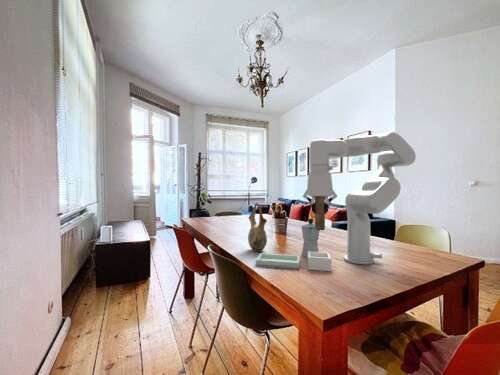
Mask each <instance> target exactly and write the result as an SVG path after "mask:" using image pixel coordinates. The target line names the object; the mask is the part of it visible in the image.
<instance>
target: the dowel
mask: <svg viewBox="0 0 500 375" xmlns="http://www.w3.org/2000/svg"><path fill="white" fill-rule="evenodd" d="M314 203H315V214H314V224H315V230H320V231H325V229H326V222H325V221H326V217H325V216H326V214H325V197H323V196H317V197H315V200H314Z"/></svg>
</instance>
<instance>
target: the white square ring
mask: <svg viewBox="0 0 500 375" xmlns="http://www.w3.org/2000/svg"><path fill="white" fill-rule="evenodd" d="M307 270H311V271H312V270H313V271H326V272H332V256H331V255H330V252H325V251H323V252H322V251H319V252H311V251H308V258H307Z"/></svg>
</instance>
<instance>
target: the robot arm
mask: <svg viewBox="0 0 500 375" xmlns="http://www.w3.org/2000/svg"><path fill="white" fill-rule="evenodd" d="M309 145H310V146H309V148H310V150H309V151H310V152H309V153H310V157H309V158H310V163H309V164H310V165H309V166H310V172H309V173H308V174H307V182H306V183H307V185H306V186H307V188H306V191H305V192H303V195H302V198H304V199H305V200H307V201H308V202H309V203H310V204H311V213H313V214H314V215H315V197H317V196H323V197H325V215H327V213H329V205H330V203H331V202H332V201H333V200H335V199H337V198H338V195H337V194H336V192H335V191H334V188H333V178H332V173H331V171H333V168H334V167H333V166H330V160H332V159H333V160H334V159H339V158H347V157H359V156H365V155H372V154H378V155H377V159H376V164H377V170H376V172H375V173H374V174H372V176H370V178H368V179H367V180H366V181H365V182H364V183H363V185H362V187H361V190H354V191H350V192H349V193H348V194H346V196H345V201H344V202H345V203H344V204H345V208H346V217H347V231H346V232H347V235H346V236H347V240H346V241H347V246H346V247H347V249H346V250H347V251H346V253H347V254H344V256H343V260H344V261H345V262H348V263H351V264H355V265H372V264H374V263H375V260H374V259H383V254H382V253H377V252H372V250H371V219H370V216H369V214H371V215H372V214H374V215H375V214H376V215H377V214H378V215H379V214H381V213H382V212H384V211H385V210H386V209H387V208H388V207H390V205H391V204H392V203H393V202H394V201H395V200H397V198H398V197H399V195H400V193H401V188H402V187H401V184H400V183H401V182H399V180H398V179H397V178H395V174H394V171H393V169H392V168H394V167H395V168H396V167H407V166H411V165H413V163H415V162H416V152H415V150H414V149H413V147H412V146H411V145H410V144H409V143H408V142H407V141H406V140H405V139H404V138H403V137H402V136H401V135H399V133H397V132H395V131H388V132H383V133H378V134H371V135H370V134H369V135H363V136H361V135H360V136H354V137H350V138H347V139H313V140H312V141H311V142H310V144H309ZM310 197H311V198H310Z"/></svg>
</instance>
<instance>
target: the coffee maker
mask: <svg viewBox="0 0 500 375" xmlns="http://www.w3.org/2000/svg"><path fill="white" fill-rule="evenodd" d="M307 220H308V223H305V224H302V225H301V232H302V239H303V245H302V252H301V257H303V258H305V259H308V251H311V252H320V251H319V245H318V240H319V237H320V231H321V230H315V223H313V222H314V218H308V219H307Z"/></svg>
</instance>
